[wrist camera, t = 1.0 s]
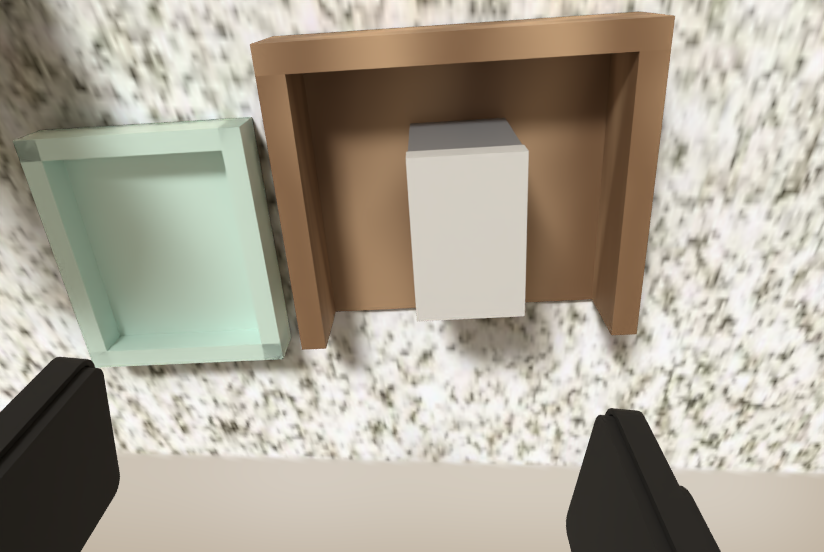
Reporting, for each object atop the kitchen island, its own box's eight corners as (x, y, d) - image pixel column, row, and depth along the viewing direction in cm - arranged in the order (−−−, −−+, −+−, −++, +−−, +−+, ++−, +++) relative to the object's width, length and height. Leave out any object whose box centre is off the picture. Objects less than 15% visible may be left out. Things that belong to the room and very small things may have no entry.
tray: (252, 117, 28) (239, 126, 26) (291, 337, 34) (283, 359, 32) (40, 130, 29) (12, 140, 27) (113, 345, 34) (94, 367, 32)
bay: (640, 11, 26) (674, 15, 23) (612, 295, 32) (636, 334, 29) (272, 36, 27) (249, 44, 23) (315, 309, 33) (302, 349, 29)
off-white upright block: (506, 116, 28) (528, 151, 22) (505, 254, 31) (524, 316, 25) (408, 122, 28) (405, 158, 22) (417, 258, 31) (416, 321, 25)
